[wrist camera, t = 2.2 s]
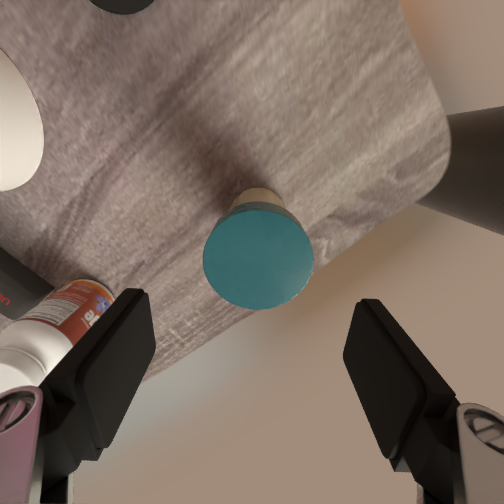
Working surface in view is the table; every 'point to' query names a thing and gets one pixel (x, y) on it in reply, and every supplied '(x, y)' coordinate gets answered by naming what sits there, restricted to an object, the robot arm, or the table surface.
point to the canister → (18, 128)
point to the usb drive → (19, 287)
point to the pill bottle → (49, 332)
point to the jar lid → (258, 256)
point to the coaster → (122, 5)
